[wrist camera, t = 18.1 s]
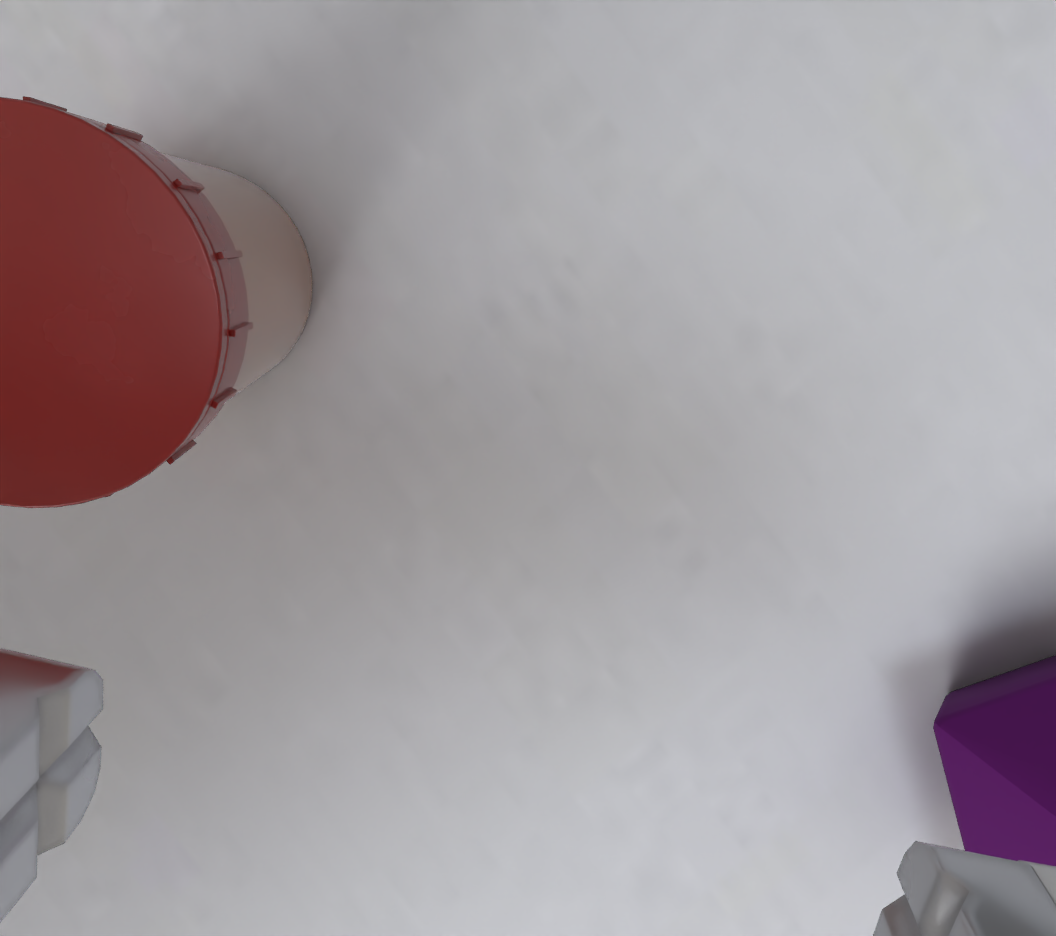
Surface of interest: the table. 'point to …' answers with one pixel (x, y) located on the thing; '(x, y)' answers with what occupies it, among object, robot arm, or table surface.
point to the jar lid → (106, 308)
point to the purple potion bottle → (1003, 762)
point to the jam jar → (260, 265)
